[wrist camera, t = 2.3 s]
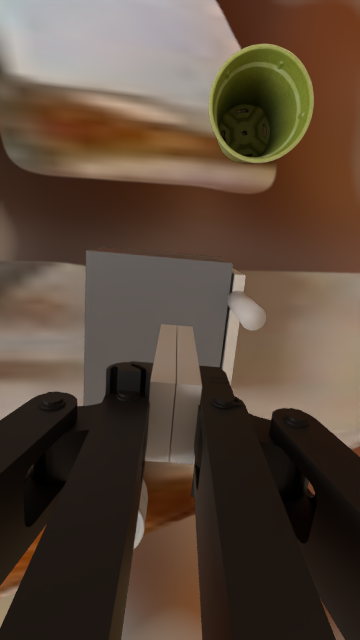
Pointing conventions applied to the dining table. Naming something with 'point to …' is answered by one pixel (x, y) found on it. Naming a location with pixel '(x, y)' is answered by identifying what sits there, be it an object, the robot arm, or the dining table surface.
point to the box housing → (149, 307)
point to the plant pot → (261, 103)
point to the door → (238, 320)
